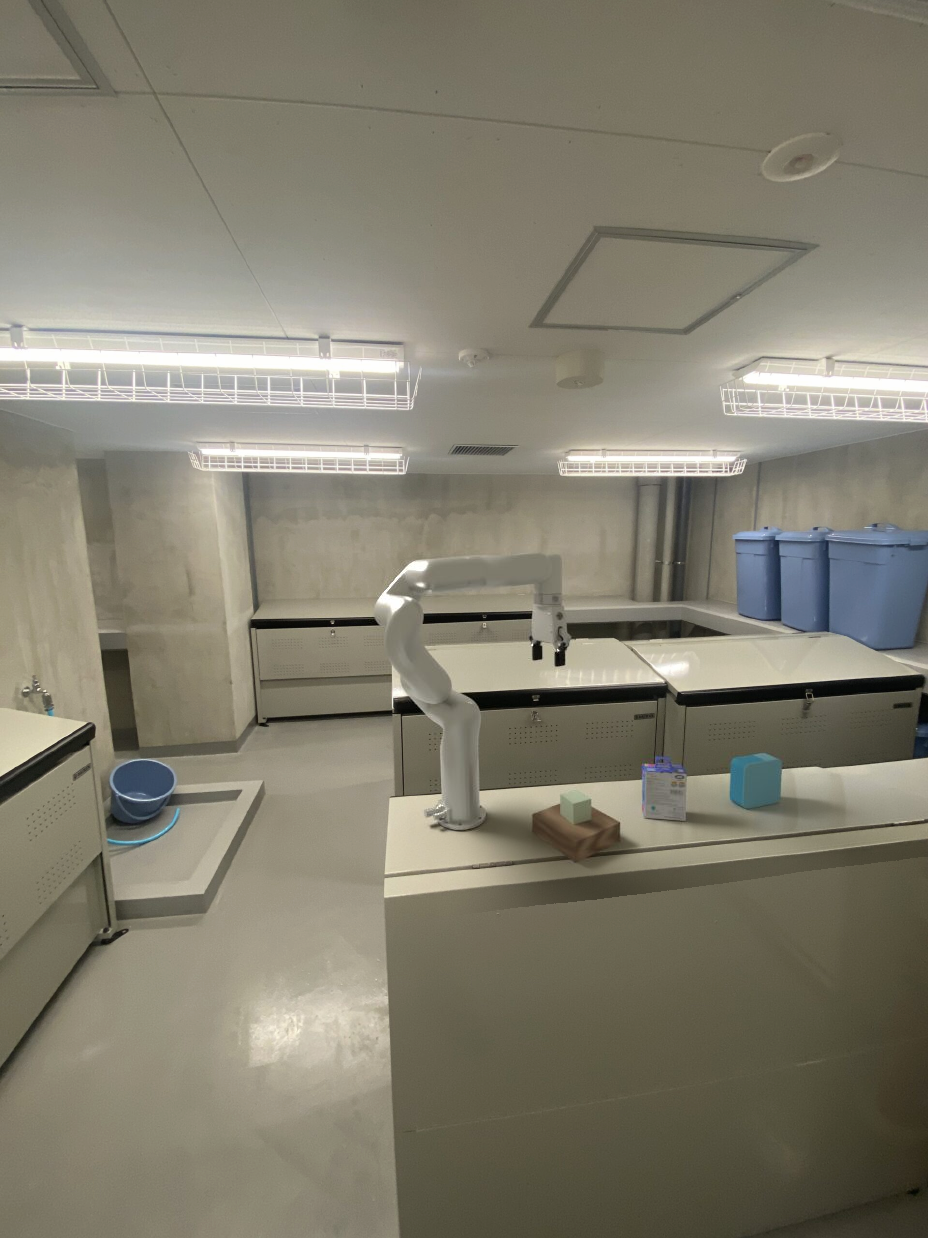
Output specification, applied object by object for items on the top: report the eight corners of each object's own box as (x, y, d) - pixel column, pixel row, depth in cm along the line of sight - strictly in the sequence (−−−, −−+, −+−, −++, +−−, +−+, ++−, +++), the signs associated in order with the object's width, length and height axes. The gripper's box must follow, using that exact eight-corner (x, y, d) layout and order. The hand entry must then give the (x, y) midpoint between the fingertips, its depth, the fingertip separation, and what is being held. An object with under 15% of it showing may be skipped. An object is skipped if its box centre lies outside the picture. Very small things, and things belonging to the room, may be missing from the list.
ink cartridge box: (681, 810, 120) (682, 755, 119) (687, 822, 115) (688, 764, 113) (640, 807, 122) (641, 753, 121) (644, 818, 117) (645, 762, 115)
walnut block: (575, 864, 100) (575, 842, 100) (532, 834, 112) (532, 814, 112) (620, 843, 108) (620, 822, 107) (575, 816, 120) (575, 797, 119)
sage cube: (573, 824, 107) (573, 803, 106) (560, 814, 111) (560, 794, 111) (591, 819, 109) (591, 798, 108) (577, 809, 113) (577, 789, 113)
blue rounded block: (765, 795, 127) (767, 752, 126) (780, 803, 123) (782, 758, 121) (728, 802, 124) (730, 757, 122) (743, 810, 119) (744, 764, 118)
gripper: (580, 601, 121) (580, 666, 123) (539, 597, 136) (539, 656, 138) (557, 602, 118) (558, 670, 119) (517, 599, 133) (518, 659, 135)
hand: (548, 662), depth 129 cm, fingers open, 9 cm apart
